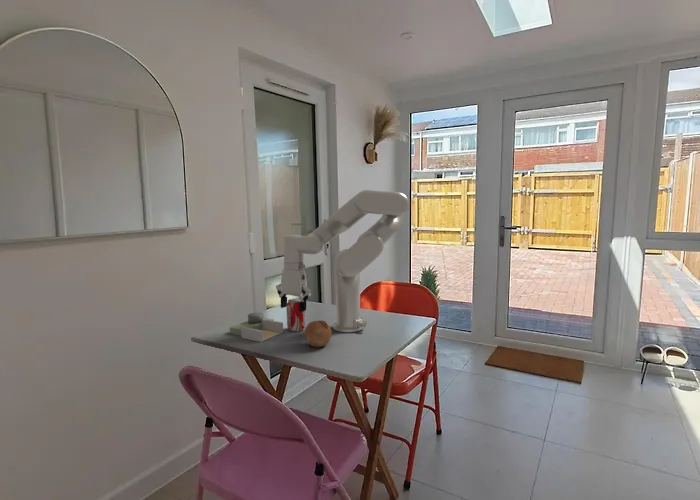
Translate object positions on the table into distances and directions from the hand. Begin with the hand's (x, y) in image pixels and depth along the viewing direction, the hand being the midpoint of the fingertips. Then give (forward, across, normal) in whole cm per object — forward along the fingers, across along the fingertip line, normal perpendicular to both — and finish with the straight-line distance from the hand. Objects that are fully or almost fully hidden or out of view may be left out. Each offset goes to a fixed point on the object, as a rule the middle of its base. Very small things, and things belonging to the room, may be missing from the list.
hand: (293, 309), depth 154 cm
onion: (+8, -19, +9) cm, 23 cm away
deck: (+9, +10, +8) cm, 16 cm away
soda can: (+9, -1, -1) cm, 9 cm away
